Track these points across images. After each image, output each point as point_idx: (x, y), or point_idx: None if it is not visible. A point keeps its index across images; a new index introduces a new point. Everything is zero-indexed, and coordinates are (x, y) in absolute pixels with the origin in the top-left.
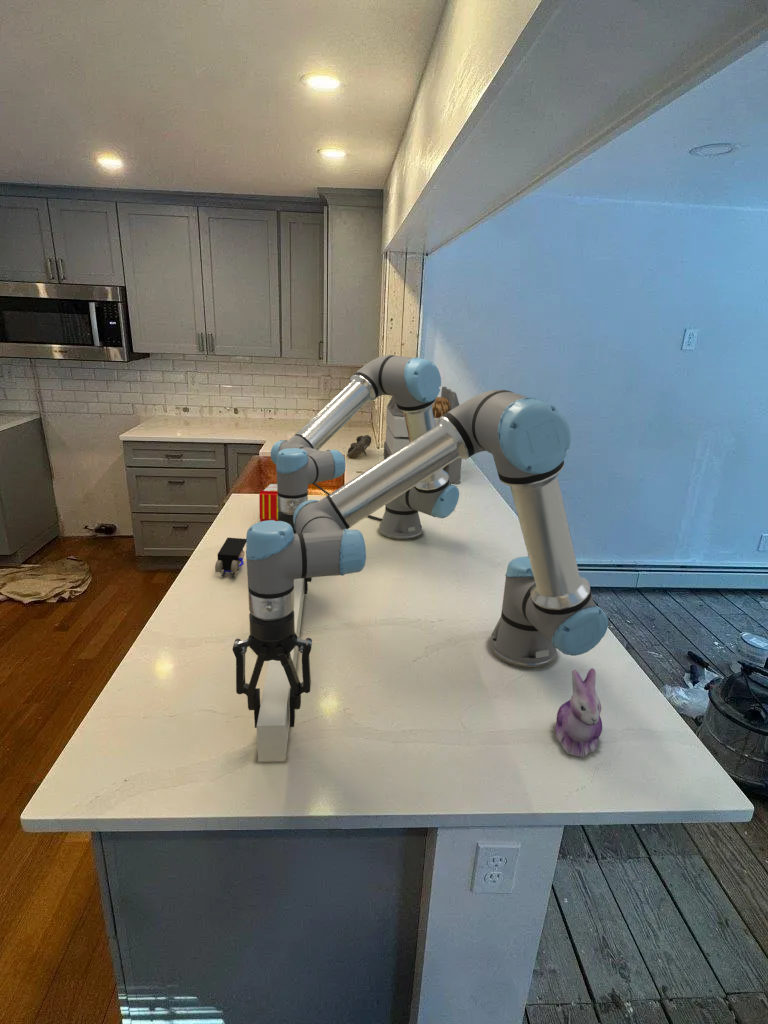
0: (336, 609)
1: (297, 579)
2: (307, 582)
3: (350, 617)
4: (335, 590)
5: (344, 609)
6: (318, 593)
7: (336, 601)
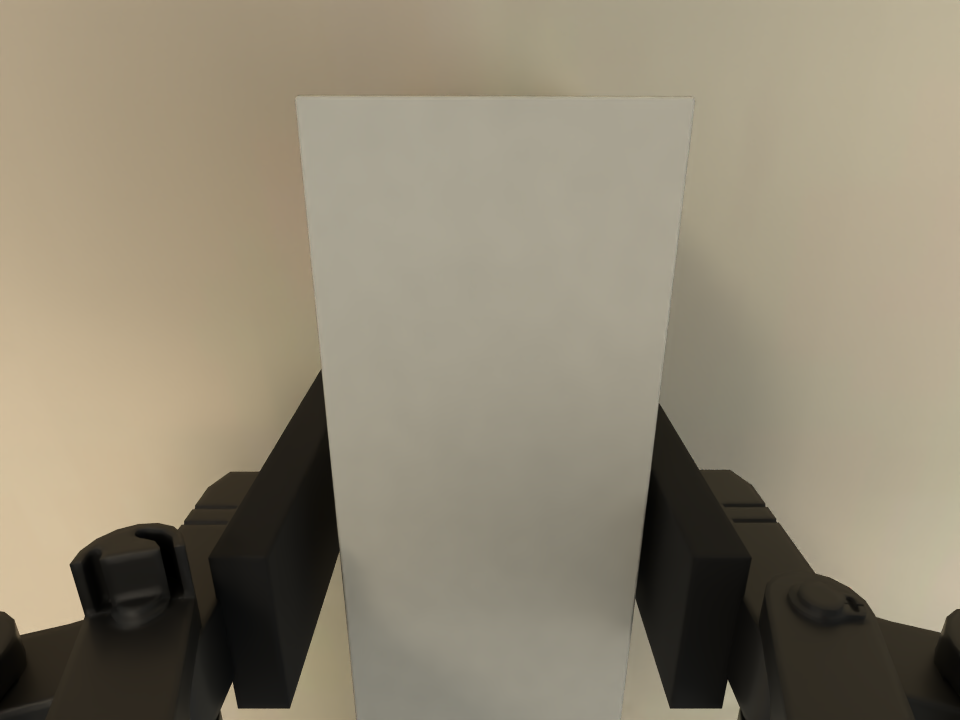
0: (857, 519)
1: (545, 700)
2: (661, 409)
3: (939, 624)
4: (946, 147)
5: (927, 519)
6: (737, 222)
7: (892, 389)
